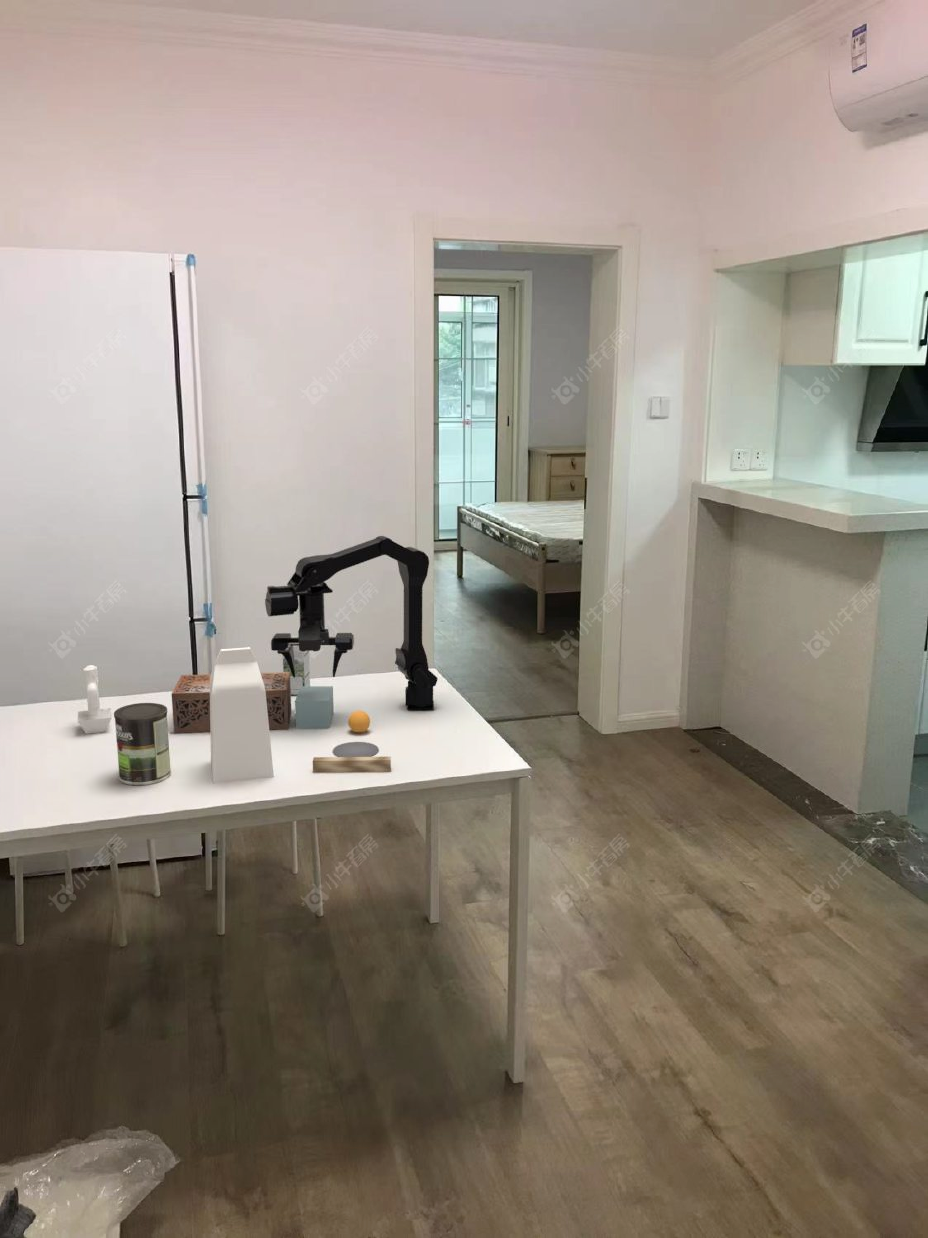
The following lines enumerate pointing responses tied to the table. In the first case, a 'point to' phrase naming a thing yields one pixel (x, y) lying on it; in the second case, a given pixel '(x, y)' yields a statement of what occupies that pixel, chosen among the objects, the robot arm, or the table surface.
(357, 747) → the gray round object
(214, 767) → the milk
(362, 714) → the ball
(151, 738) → the coffee can
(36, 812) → the table surface
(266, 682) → the tissue box cover
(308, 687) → the light blue rectangular box
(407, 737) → the table surface
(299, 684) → the syrup box
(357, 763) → the tan wooden bar
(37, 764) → the table surface
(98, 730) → the figurine
